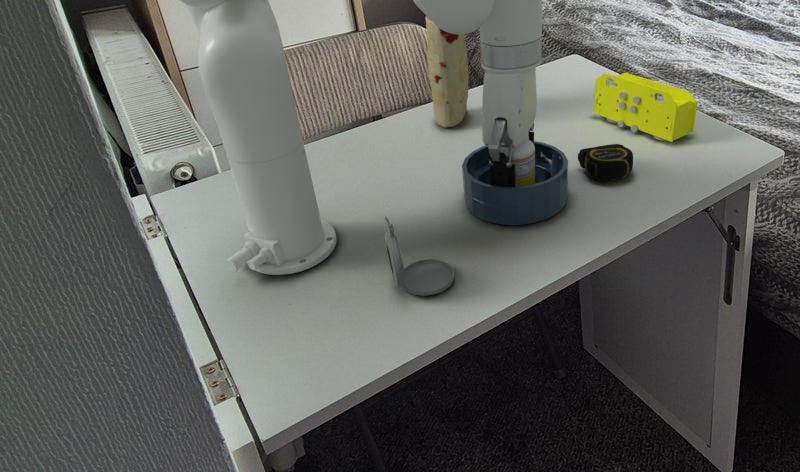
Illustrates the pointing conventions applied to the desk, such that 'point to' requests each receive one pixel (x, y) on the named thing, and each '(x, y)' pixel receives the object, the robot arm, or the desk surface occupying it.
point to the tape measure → (606, 161)
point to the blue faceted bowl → (516, 188)
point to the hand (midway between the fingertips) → (513, 173)
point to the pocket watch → (417, 270)
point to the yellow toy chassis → (645, 105)
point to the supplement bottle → (523, 162)
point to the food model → (447, 74)
